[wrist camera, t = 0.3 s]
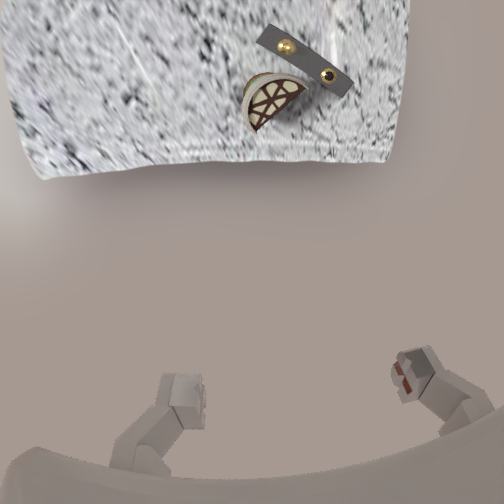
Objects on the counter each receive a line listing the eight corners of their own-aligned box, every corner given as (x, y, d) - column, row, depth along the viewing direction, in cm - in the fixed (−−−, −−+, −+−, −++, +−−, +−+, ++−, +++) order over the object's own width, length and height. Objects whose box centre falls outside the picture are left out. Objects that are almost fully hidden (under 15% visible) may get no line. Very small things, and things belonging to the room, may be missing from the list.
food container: (271, 52, 43) (286, 59, 36) (293, 75, 46) (311, 87, 39) (222, 97, 48) (226, 112, 41) (245, 117, 51) (254, 136, 44)
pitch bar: (268, 23, 38) (273, 23, 36) (352, 81, 48) (360, 85, 45) (255, 42, 41) (259, 43, 38) (339, 97, 50) (347, 102, 48)
